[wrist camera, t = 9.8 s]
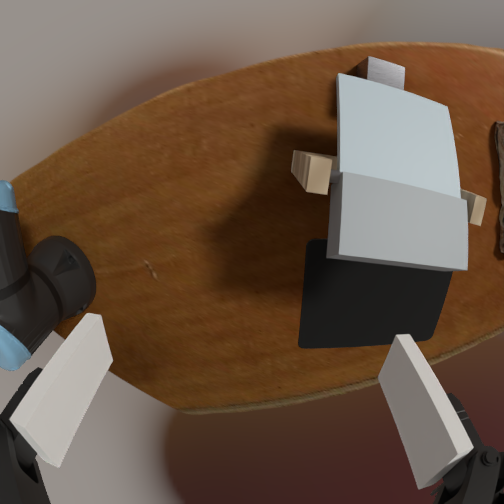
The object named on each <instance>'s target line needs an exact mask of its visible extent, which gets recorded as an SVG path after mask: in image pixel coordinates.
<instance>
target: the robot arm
mask: <svg viewBox="0 0 504 504" xmlns="http://www.w3.org/2000/svg"><path fill="white" fill-rule="evenodd" d="M18 213H19V210H18V209H17V206H16V200H15V194H14V189H13V187H12V185H11V184H10V183H9V182H8V181H5V180H1V181H0V367H1V368H3V369H5V370H8V371H14V370H17V369H19V368H20V367H21V366H22V365H23V364H24V363H25V361H26V360H28V359H30V358H31V356H32V354H33V353H34V352H35V351H36V350H37V348H38V347H39V346H40V345H41V344H42V343H43V341H44V340H45V339H46V338H47V337H48V335H49V334H50V333H51V332H52V331H53V330H54V329H55V327H56V326H57V325H58V324H59V323H60V322H61V321H63V320H65V319H68V318H70V317H73V316H75V315H77V314H80V313H82V312H83V311H84V310H85V309H86V308H87V307H88V306H89V305H90V304H91V303H92V301H93V299H94V297H95V293H96V281H95V276H94V272H93V269H92V267H91V265H90V263H89V261H88V259H87V257H86V256H85V254H84V253H83V252H82V251H81V250H80V248H79V247H78V246H77V245H75V244H74V243H73V242H72V241H70V240H68V239H66V238H64V237H61V236H50V237H47V238H45V239H44V240H42V241H40V242H39V243H38V244H37V245H36V246H35V247H34V249H33V250H32V252H31V253H30V255H29V256H28V257H27V258H26V254H25V250H24V245H23V240H22V235H21V229H20V223H19V216H18ZM112 361H113V359H112V356H111V352H110V349H109V345H108V341H107V337H106V334H105V330H104V326H103V321H102V317H101V315H97V314H91V313H87V314H86V315H85V316H84V317H83V319H82V320H81V321H80V322H79V324H78V325H77V326H76V327H75V328H74V330H73V331H72V332H71V334H70V335H69V336H68V337H67V339H66V340H65V341H64V342H63V344H62V345H61V346H60V348H59V349H58V350H57V352H56V353H55V354H54V356H53V357H52V358H51V360H50V361H49V362H48V364H47V365H46V366H45V368H44V369H41V368H39V367H38V368H37V369H35V370H34V371H32V372H31V373H29V374H28V376H27V377H26V379H25V380H24V381H23V384H21V385H20V387H19V388H18V391H16V393H15V394H14V395H13V397H12V399H11V400H10V401H9V403H8V404H7V406H6V407H5V409H4V410H3V412H2V413H1V414H0V504H51V503H50V501H49V498H48V495H47V492H46V489H45V486H44V483H43V480H42V477H41V473H40V470H39V466H38V463H37V461H36V459H35V457H36V455H37V454H38V455H39V456H40V457H41V458H42V459H43V460H44V461H46V462H48V463H49V464H51V465H53V466H56V467H58V468H59V467H60V465H61V463H62V461H63V458H64V456H65V454H66V452H67V449H68V447H69V445H70V443H71V441H72V439H73V437H74V434H75V432H76V430H77V428H78V426H79V424H80V422H81V420H82V418H83V416H84V414H85V412H86V410H87V408H88V406H89V404H90V403H91V401H92V398H93V397H94V395H95V393H96V391H97V389H98V387H99V385H100V383H101V381H102V379H103V378H104V376H105V374H106V372H107V370H108V369H109V367H110V365H111V363H112ZM378 380H379V382H380V384H381V387H382V389H383V392H384V394H385V397H386V399H387V402H388V405H389V407H390V409H391V412H392V415H393V417H394V420H395V423H396V425H397V428H398V431H399V434H400V436H401V439H402V442H403V444H404V447H405V450H406V453H407V456H408V459H409V462H410V465H411V468H412V471H413V474H414V477H415V480H416V483H417V486H418V489H422V488H424V487H428V486H430V485H433V484H435V483H436V482H437V481H438V480H440V479H441V478H443V481H444V482H443V483H442V484H441V485H440V486H438V487H437V488H436V489H435V490H433V491H432V493H431V495H434V494H435V493H436V492H438V493H437V495H436V496H435V497H436V498H435V501H434V503H433V504H504V492H503V488H504V452H498V451H497V450H496V449H495V448H493V447H491V446H484V444H483V443H482V442H481V439H480V437H479V435H478V433H477V431H476V429H475V428H474V426H473V424H472V422H471V420H470V419H469V418H468V415H467V413H466V412H465V411H464V407H463V406H462V404H461V402H460V400H459V399H457V398H456V397H455V396H454V395H453V394H452V393H449V394H446V393H445V392H444V390H443V389H442V386H441V385H440V383H439V381H438V380H437V378H436V376H435V374H434V373H433V371H432V369H431V368H430V366H429V364H428V363H427V361H426V359H425V358H424V356H423V355H422V353H421V351H420V350H419V348H418V347H417V345H416V343H415V342H414V340H413V339H412V337H411V336H410V334H401V335H396V336H395V338H394V341H393V343H392V346H391V348H390V351H389V353H388V355H387V358H386V360H385V362H384V365H383V367H382V369H381V371H380V374H379V376H378Z"/></svg>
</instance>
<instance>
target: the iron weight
mask: <svg viewBox="0 0 504 504" xmlns="http://www.w3.org/2000/svg"><path fill="white" fill-rule="evenodd" d="M404 76H405V67H402V66H399V65H396V64H393V63H390V62H387V61H384V60H380V59H377V58H374V57H370V56H368V57H367V58H366V59H364V60H363V61H362V62H360V63H359V64H358V65H357V76H356V77H358V78H362V79H366V80H370V81H373V82H377V83H381V84H384V85H388V86H391V87H394V88H397V89H400V90H404Z"/></svg>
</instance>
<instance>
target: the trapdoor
mask: <svg viewBox="0 0 504 504" xmlns="http://www.w3.org/2000/svg"><path fill="white" fill-rule="evenodd" d="M336 85H337V170H333V169H331V173H330V179H329V182H330V183H333V184H332V185H331V198H330V215H329V230H328V243H327V255H326V258H333V259H341V260H350V261H359V262H368V263H376V264H385V265H394V266H402V267H411V268H419V269H428V270H437V271H462V270H467V265H468V215H467V200H464V199H461V193H460V181H459V172H458V163H457V156H456V149H455V142H454V136H453V131H452V126H451V121H450V116H449V111H448V107H447V106H444V105H442V104H439V103H437V102H434V101H432V100H429V99H426V98H424V97H421V96H418V95H415V94H412V93H410V92H407V91H404V90H400V89H397V88H394V87H391V86H388V85H384V84H381V83H377V82H373V81H370V80H366V79H362V78H358V77H354V76H350V75H345V74H341V73H338V75H337V78H336Z"/></svg>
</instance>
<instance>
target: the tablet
mask: <svg viewBox="0 0 504 504" xmlns="http://www.w3.org/2000/svg"><path fill="white" fill-rule="evenodd" d="M327 243H328V239H312V240H310V241H309V242H308V243H307V245H306V259H305V273H304V287H303V299H302V311H301V321H300V332H299V342H298V345H299V346H300V347H301V348H341V347H360V346H375V345H388V344H392V343H393V341H394V338H395V336H396V335H401V334H410V336H411V337H412V339H413V340H414V342H418V341H426V340H429V339H430V338H431V337H432V336H433V333H434V330H435V328H436V325H437V322H438V319H439V316H440V313H441V310H442V307H443V304H444V301H445V297H446V294H447V291H448V287H449V284H450V280H451V276H452V272H453V271H437V270H428V269H419V268H411V267H402V266H394V265H385V264H376V263H368V262H359V261H350V260H341V259H333V258H326V255H327Z"/></svg>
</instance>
